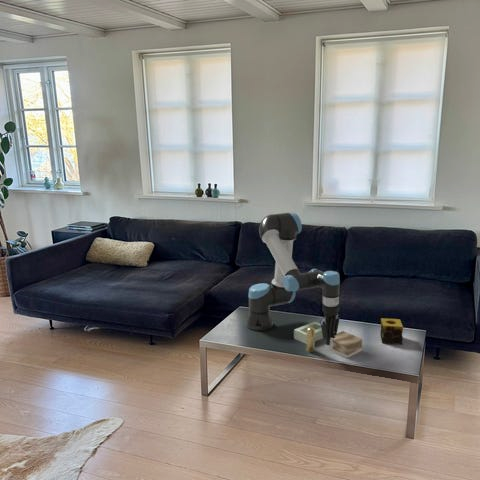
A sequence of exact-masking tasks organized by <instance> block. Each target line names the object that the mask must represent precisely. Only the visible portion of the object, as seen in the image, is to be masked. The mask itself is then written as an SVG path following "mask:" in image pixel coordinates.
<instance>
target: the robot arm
mask: <svg viewBox="0 0 480 480" xmlns="http://www.w3.org/2000/svg"><path fill="white" fill-rule="evenodd" d="M302 229H303V228H302V221H301V218H300V216H299V215H298V214H297V213H295V212H284V213H283V212H281V213H274V214H273V213H272V214H268V215H266V216H264V217H263V218H262V220H261V222H260V223H259V227H258V233H259V237H260V239H261V241H262V242H263V243H265V244H266V247H267V248H268V249H269V252H270V253H271V255H272V257H273V258H274V261H275V265H274V278H273V279H272V280H271V283H270V284H271V285H270V284H268V283H266V282H265V283H257V284H253V285H251V286H250V287H249V289H248V295H247V296H248V315H247V318H246V319H245V320H246V321H245V326H246V327H247V329H250V330H253V331H266V330H269V329H272V328H273V325H274V322H273V321H274V320H273V318H272V314H271V310H270V308H271V307H274V306H280V305H287V304H290V303H292V302H294V300H295V297H296V292H297V291H301V290H306V289H307V290H308V289H314V288H320V289H322V301H321V302H322V309H321V310H322V313H323V315H322V316H323V317H322V320H319V324H321V329H322V335H323V338H322V339H325V350H326V351H328V352H330V353H332V352H331V351H333V338H335V335H337V333H338V329H339V323H340V319H341V317H342V316H341V315H340V314H338V313H339V310H340V307H339V306H340V305H339V303H340V300H339V299H340V283H341V280H340V273H339V272H337V271H334V270H327V271H323V270H320V269H317V268H312V269H311V270H309V271H308V272H304V273H301V272H300V271H299V268H298V267H297V265H296V263H295V261H294V260H293V246H294V241H295V240H297V234H300V233H301V232H302Z"/></svg>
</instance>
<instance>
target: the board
mask: <svg viewBox="0 0 480 480" xmlns="http://www.w3.org/2000/svg"><path fill="white" fill-rule="evenodd" d="M361 351H363V347H362V348H360V349H358V350H356V351H354V352H352V353H351V354H349V355H345V354H343V353H340V352H338V351H336V350H334V349H333V351H331V352H330V353H333V354H336V355H339V356H341V357H342V358H345V359H349V358H350V357H352V356H354V355H356V354H358V353H360V352H361Z"/></svg>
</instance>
